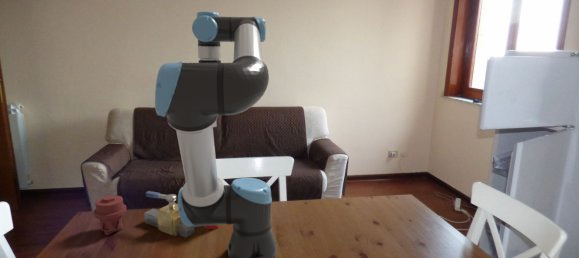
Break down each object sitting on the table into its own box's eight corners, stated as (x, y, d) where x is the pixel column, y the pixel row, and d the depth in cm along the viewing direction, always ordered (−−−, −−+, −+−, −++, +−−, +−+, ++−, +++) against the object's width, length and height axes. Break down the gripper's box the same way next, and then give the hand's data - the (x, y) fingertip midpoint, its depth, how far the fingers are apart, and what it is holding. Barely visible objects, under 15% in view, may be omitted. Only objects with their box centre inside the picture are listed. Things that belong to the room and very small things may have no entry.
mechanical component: (134, 225, 130) (115, 239, 121) (109, 222, 132) (89, 236, 123) (131, 193, 127) (112, 205, 118) (105, 190, 129) (85, 202, 120)
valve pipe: (197, 230, 127) (195, 202, 124) (183, 239, 121) (181, 209, 119) (156, 217, 136) (154, 190, 134) (142, 224, 131) (139, 196, 128)
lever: (172, 202, 123) (172, 198, 123) (144, 197, 127) (144, 193, 127) (178, 198, 126) (178, 194, 126) (150, 193, 130) (150, 190, 130)
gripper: (229, 59, 123) (231, 128, 128) (209, 58, 132) (212, 122, 138) (209, 60, 118) (212, 131, 123) (190, 58, 127) (193, 125, 133)
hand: (212, 126), depth 130 cm, fingers closed
